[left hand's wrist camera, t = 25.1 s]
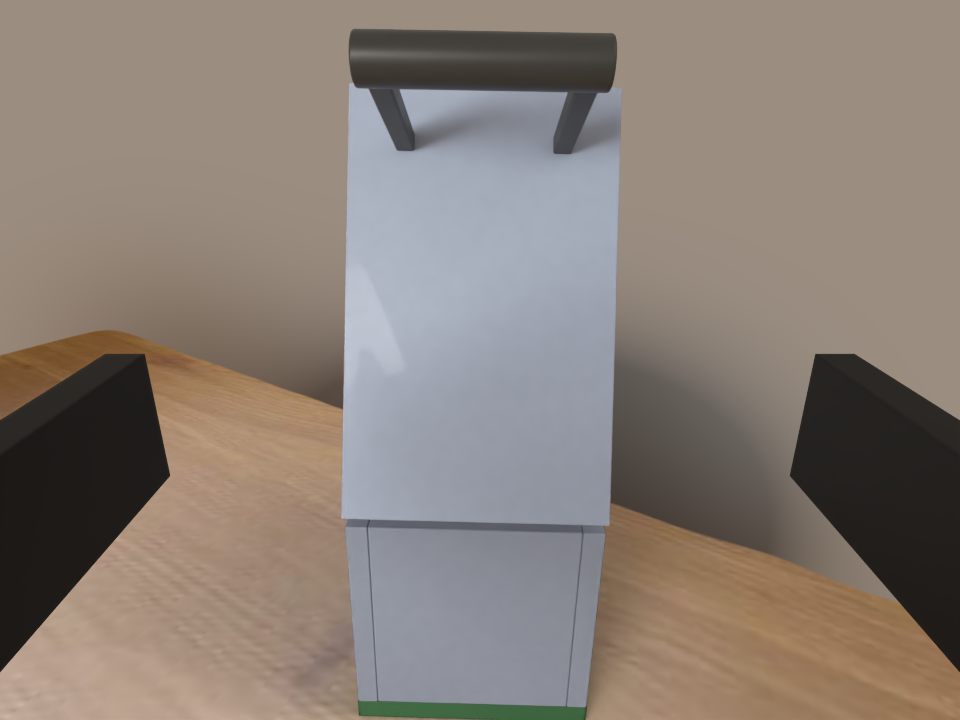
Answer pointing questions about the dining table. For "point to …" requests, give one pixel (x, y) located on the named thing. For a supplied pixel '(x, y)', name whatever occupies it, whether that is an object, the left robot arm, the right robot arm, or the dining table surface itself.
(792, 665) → the dining table surface
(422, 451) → the lid
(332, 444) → the dining table surface
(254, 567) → the dining table surface
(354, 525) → the chest
